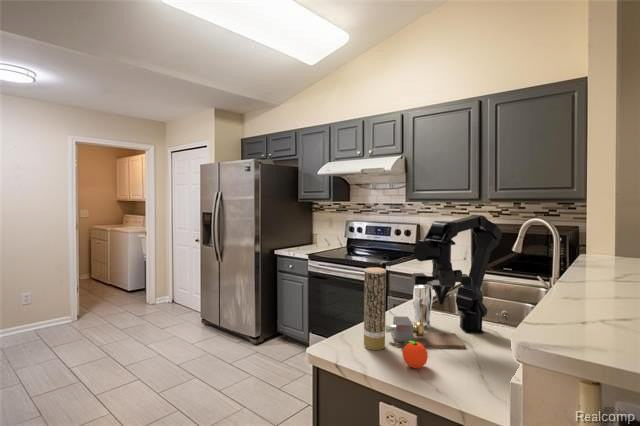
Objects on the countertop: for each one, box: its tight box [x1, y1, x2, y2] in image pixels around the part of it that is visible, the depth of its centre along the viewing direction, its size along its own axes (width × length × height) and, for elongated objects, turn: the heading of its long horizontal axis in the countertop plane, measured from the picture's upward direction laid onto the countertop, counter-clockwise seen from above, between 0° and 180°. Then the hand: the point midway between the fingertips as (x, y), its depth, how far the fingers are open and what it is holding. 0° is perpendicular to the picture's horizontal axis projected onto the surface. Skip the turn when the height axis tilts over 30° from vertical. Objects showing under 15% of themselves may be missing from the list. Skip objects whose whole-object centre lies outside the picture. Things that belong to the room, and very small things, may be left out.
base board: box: [390, 331, 467, 350], centre depth 116 cm, size 22×10×1 cm, turn 87°
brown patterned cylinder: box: [363, 267, 387, 351], centre depth 111 cm, size 7×7×25 cm
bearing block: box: [392, 316, 414, 343], centre depth 116 cm, size 5×8×6 cm, turn 177°
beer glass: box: [412, 284, 434, 330], centre depth 130 cm, size 7×7×15 cm
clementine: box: [402, 341, 429, 369], centre depth 99 cm, size 8×7×7 cm
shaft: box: [385, 322, 425, 337], centre depth 116 cm, size 12×5×5 cm, turn 87°
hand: (440, 304), depth 117 cm, fingers closed
